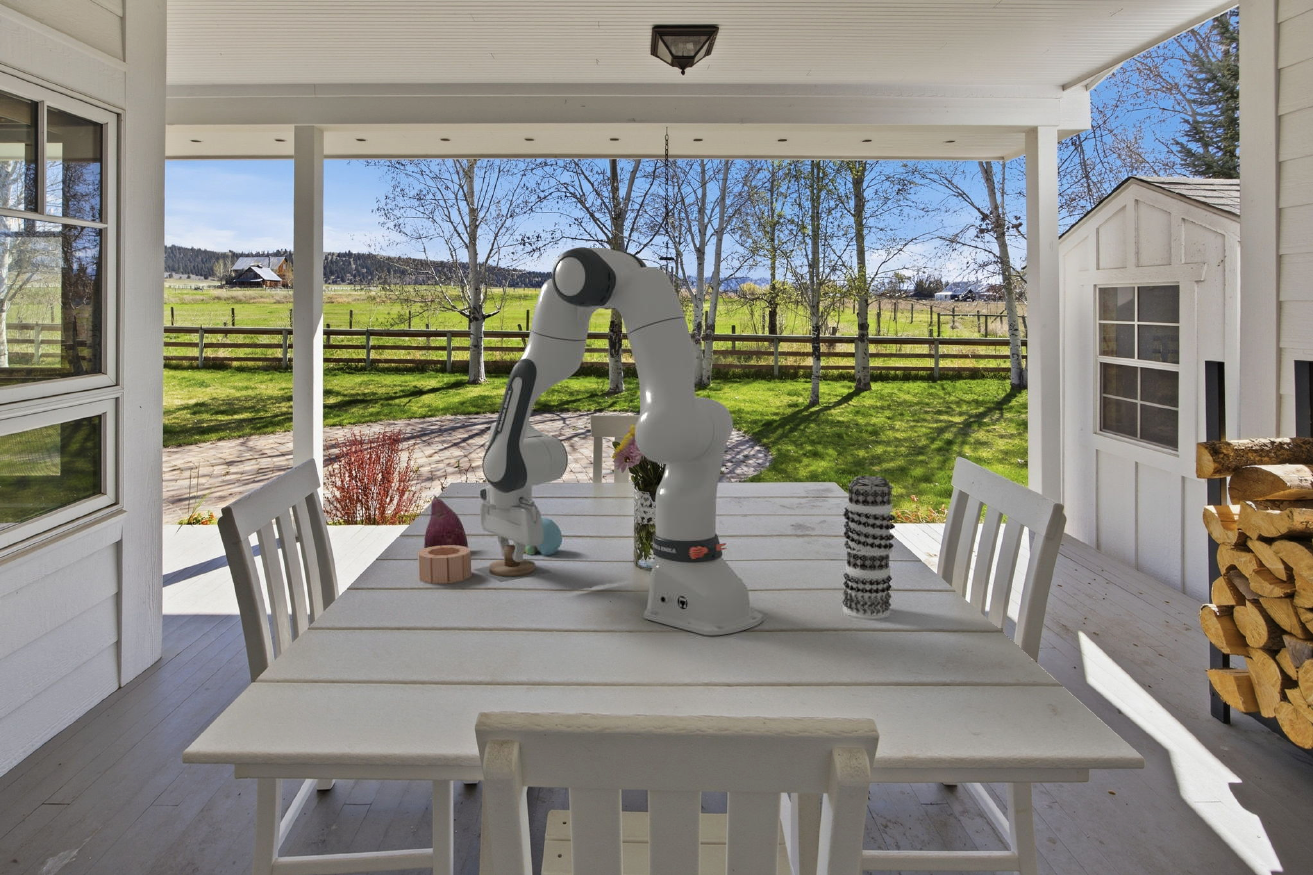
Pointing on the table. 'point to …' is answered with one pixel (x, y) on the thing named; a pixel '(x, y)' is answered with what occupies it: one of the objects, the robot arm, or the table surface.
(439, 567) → the faceted hollow tube
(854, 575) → the decorative candle
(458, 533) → the vegetable
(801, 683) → the table surface
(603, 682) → the table surface
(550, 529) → the toy flower bud
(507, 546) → the lid
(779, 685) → the table surface
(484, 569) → the mat
